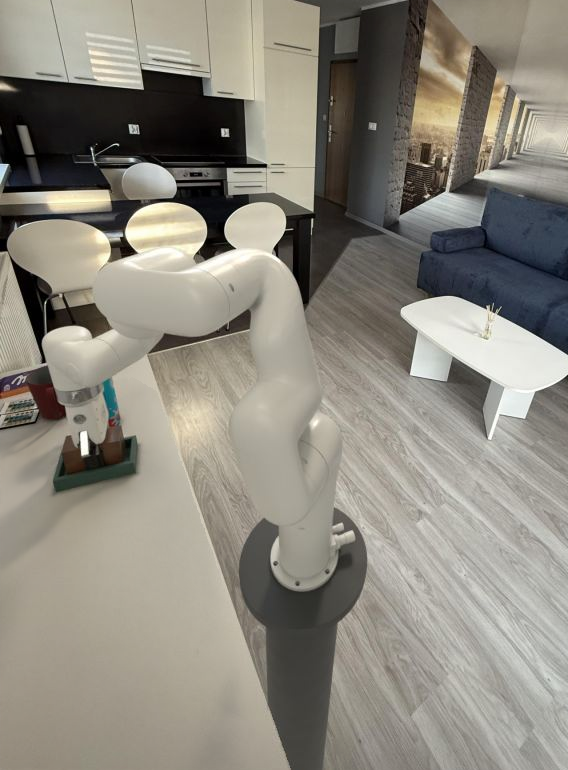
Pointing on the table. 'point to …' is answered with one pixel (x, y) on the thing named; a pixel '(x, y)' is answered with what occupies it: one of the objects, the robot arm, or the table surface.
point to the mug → (45, 394)
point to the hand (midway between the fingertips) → (97, 456)
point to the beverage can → (111, 403)
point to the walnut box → (110, 448)
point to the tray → (97, 470)
